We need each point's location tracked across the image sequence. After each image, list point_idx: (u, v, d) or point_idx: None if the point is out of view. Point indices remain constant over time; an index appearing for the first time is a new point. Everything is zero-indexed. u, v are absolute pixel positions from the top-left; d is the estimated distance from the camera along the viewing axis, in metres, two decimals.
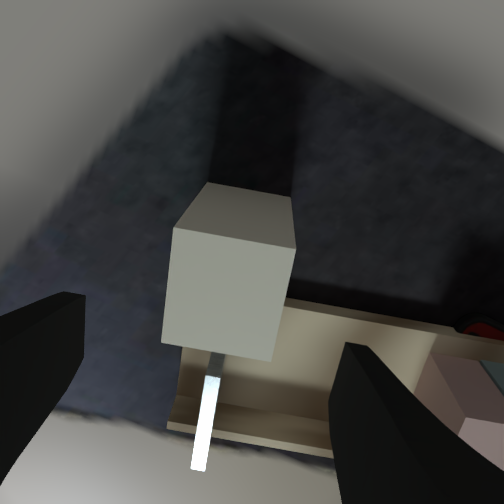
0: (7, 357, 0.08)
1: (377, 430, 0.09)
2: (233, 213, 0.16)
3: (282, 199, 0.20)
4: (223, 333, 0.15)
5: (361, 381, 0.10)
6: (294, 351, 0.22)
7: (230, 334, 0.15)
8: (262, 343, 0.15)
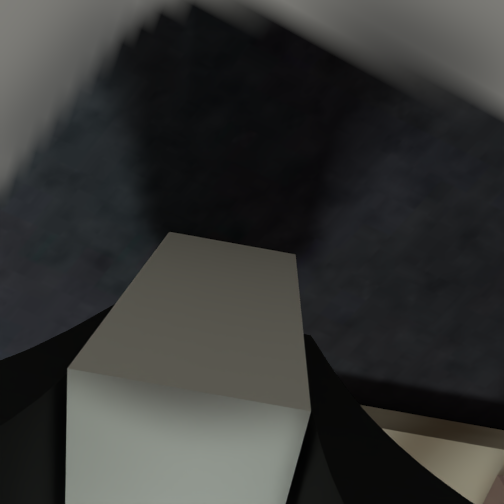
0: None
1: None
2: (198, 307, 0.09)
3: (283, 260, 0.13)
4: None
5: None
6: None
7: None
8: None
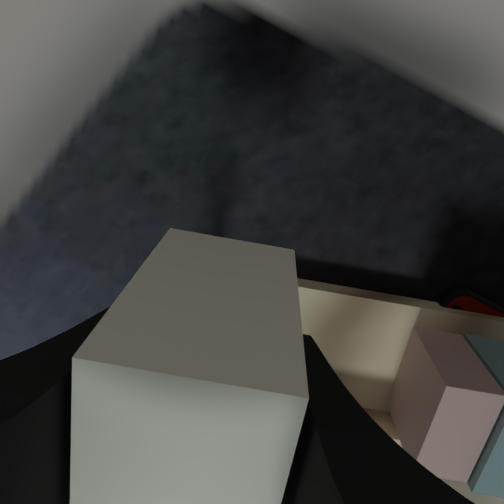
0: None
1: None
2: (199, 301, 0.10)
3: (282, 256, 0.13)
4: None
5: None
6: None
7: None
8: None
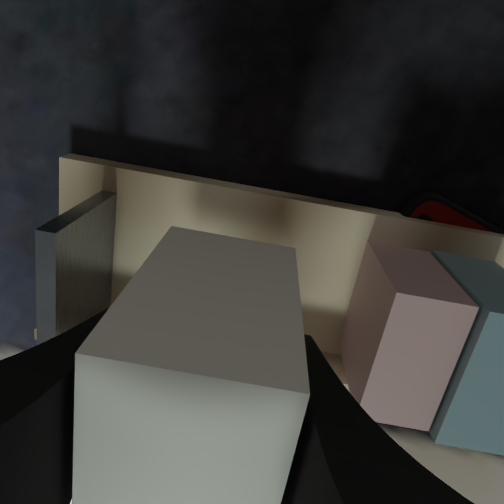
0: None
1: None
2: (200, 297, 0.10)
3: (283, 254, 0.13)
4: None
5: None
6: None
7: None
8: None
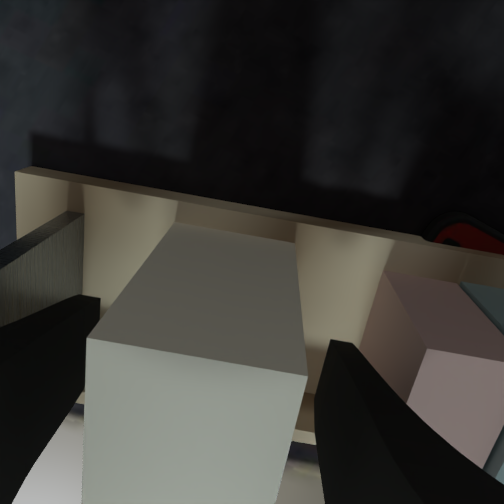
0: (28, 361, 0.08)
1: (357, 427, 0.09)
2: (203, 289, 0.10)
3: (282, 248, 0.14)
4: (184, 500, 0.09)
5: (343, 378, 0.10)
6: None
7: (195, 502, 0.09)
8: None
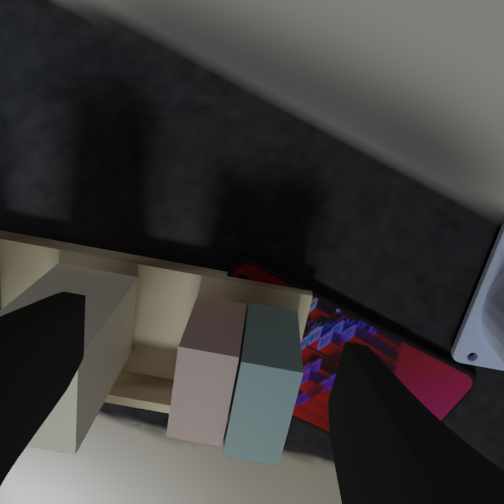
0: (7, 358, 0.08)
1: (377, 430, 0.09)
2: None
3: (125, 281, 0.21)
4: None
5: (361, 381, 0.10)
6: None
7: None
8: (64, 438, 0.16)
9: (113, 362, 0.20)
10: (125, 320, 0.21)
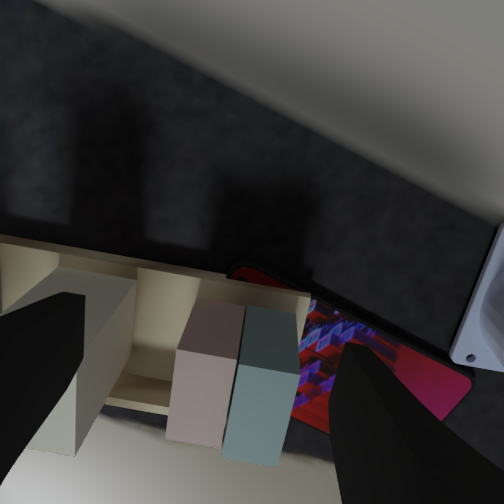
0: (8, 358, 0.08)
1: (377, 430, 0.09)
2: None
3: (124, 284, 0.21)
4: None
5: (361, 381, 0.10)
6: None
7: None
8: (63, 440, 0.17)
9: (112, 365, 0.20)
10: (124, 323, 0.21)
